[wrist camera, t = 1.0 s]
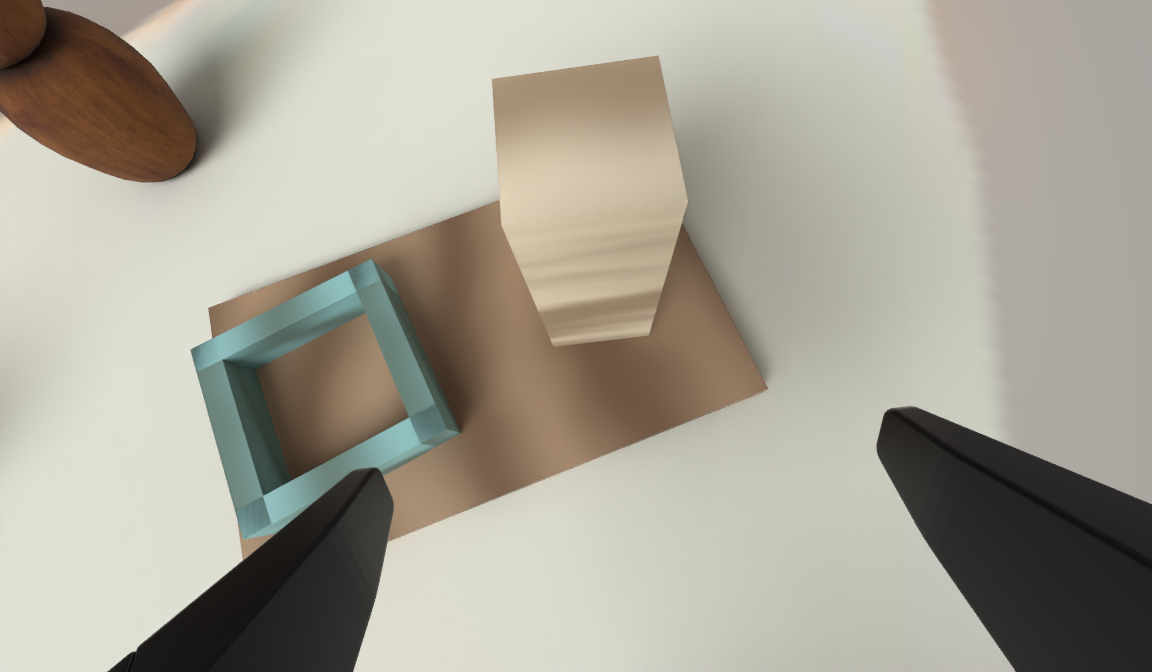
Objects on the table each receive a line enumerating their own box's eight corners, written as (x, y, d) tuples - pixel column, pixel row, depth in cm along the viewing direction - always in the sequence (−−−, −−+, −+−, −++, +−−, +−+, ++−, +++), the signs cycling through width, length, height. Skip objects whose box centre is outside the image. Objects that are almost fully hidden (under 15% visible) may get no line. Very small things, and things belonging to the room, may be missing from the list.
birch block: (648, 335, 21) (688, 201, 11) (553, 346, 21) (501, 225, 11) (634, 249, 23) (658, 55, 12) (545, 260, 23) (491, 78, 12)
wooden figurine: (118, 128, 29) (-374, -219, 14) (207, 96, 29) (-189, -276, 15) (127, 215, 27) (-434, -87, 12) (222, 179, 27) (-218, -157, 13)
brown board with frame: (641, 159, 25) (645, 119, 22) (760, 392, 21) (784, 379, 18) (224, 314, 24) (172, 293, 21) (265, 590, 20) (208, 610, 17)
